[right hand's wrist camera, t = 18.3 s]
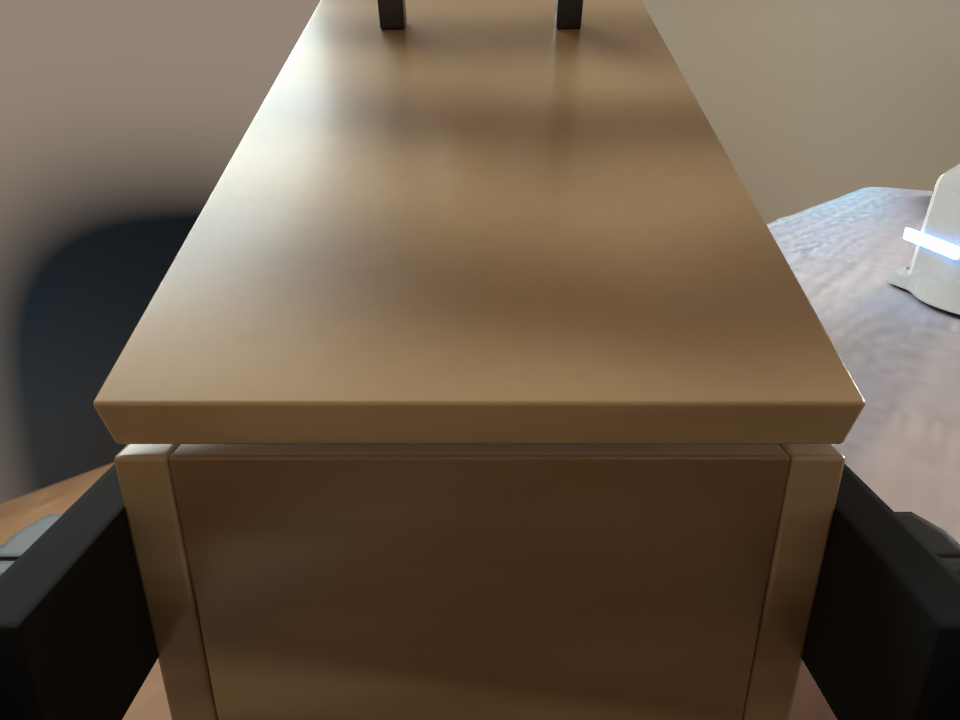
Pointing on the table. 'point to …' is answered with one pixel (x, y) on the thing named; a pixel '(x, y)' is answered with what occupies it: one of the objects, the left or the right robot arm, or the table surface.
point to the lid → (479, 253)
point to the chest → (479, 578)
